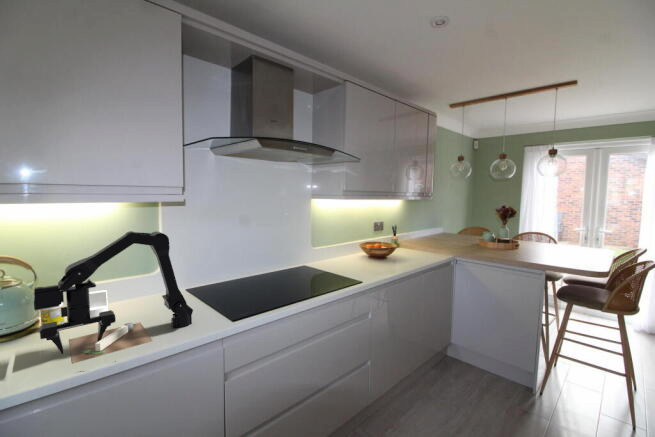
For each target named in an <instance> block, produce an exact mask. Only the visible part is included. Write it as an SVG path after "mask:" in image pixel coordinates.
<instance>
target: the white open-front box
mask: <svg viewBox="0 0 655 437" xmlns="http://www.w3.org/2000/svg"><path fill="white" fill-rule="evenodd" d="M89 300H90V318H92V317H97V316H99V313H100V312H105V311H109V302H108V300H109V299H108V290H107V289H103V290H94V291H89Z"/></svg>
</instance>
